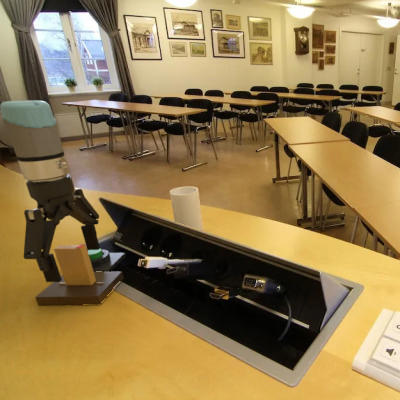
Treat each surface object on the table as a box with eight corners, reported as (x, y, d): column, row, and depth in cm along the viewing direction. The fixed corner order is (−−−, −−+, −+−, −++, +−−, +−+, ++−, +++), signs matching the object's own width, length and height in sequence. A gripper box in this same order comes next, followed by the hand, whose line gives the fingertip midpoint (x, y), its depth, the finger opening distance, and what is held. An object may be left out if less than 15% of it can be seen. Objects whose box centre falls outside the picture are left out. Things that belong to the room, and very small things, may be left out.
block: (65, 274, 85) (62, 264, 84) (87, 256, 93) (85, 247, 92) (108, 274, 85) (105, 264, 84) (126, 256, 93) (124, 247, 92)
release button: (84, 260, 86) (82, 254, 86) (92, 253, 90) (91, 247, 89) (97, 260, 87) (96, 254, 86) (105, 253, 90) (104, 247, 89)
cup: (176, 243, 101) (167, 196, 95) (179, 232, 108) (171, 187, 102) (203, 240, 103) (197, 193, 97) (204, 229, 110) (198, 185, 105)
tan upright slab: (65, 285, 76) (53, 248, 72) (71, 281, 78) (59, 244, 74) (91, 285, 76) (80, 247, 73) (96, 280, 78) (85, 244, 74)
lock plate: (38, 306, 73) (34, 296, 72) (68, 279, 82) (66, 271, 82) (100, 305, 74) (98, 295, 73) (124, 279, 83) (122, 270, 82)
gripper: (16, 198, 56) (52, 297, 64) (102, 162, 79) (121, 238, 87) (-28, 198, 56) (13, 298, 63) (71, 162, 79) (92, 238, 87)
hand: (75, 263), depth 75 cm, fingers open, 13 cm apart
